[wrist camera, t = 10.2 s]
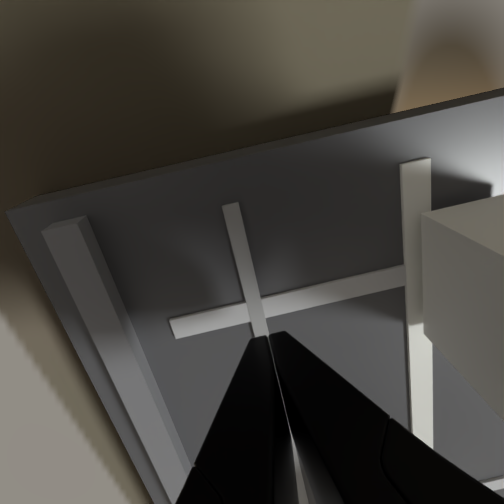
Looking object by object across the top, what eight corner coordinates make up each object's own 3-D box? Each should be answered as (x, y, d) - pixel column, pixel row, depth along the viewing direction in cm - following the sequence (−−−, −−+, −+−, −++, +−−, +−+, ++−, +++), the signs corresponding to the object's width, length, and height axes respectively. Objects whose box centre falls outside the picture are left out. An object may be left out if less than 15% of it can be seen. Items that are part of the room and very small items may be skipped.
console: (728, 35, 9) (860, 17, 7) (604, 473, 16) (655, 521, 14) (35, 195, 9) (-12, 219, 7) (208, 566, 16) (207, 628, 14)
